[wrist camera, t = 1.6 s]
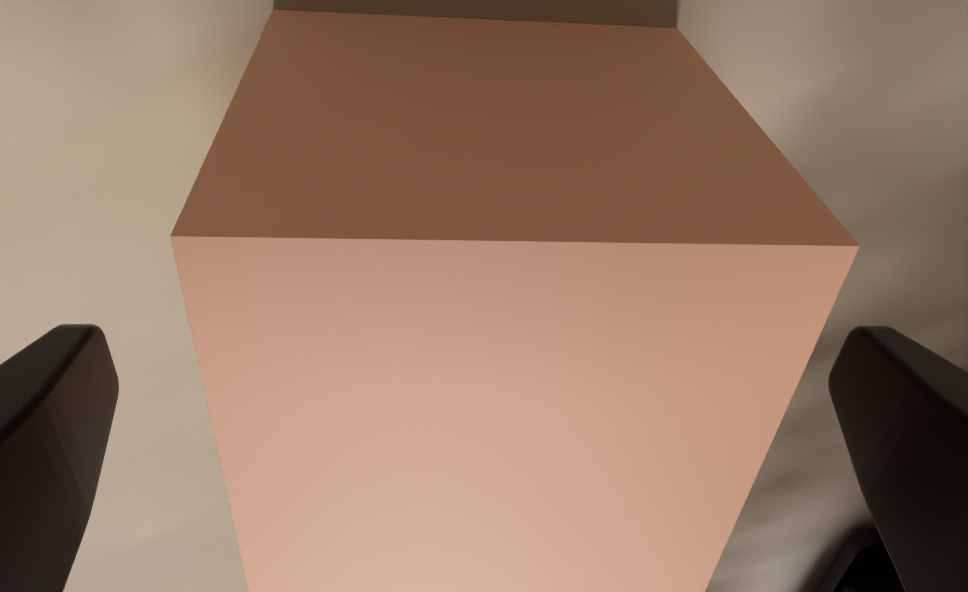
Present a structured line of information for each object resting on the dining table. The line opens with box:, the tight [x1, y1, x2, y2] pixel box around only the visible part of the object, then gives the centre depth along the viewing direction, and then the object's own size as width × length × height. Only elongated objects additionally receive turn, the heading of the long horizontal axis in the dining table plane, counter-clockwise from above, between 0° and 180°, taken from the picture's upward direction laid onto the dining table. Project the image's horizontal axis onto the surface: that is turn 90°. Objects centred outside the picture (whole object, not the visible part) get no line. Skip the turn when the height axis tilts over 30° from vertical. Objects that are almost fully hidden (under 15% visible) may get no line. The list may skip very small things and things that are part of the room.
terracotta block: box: [170, 10, 860, 592], centre depth 10 cm, size 6×6×6 cm
